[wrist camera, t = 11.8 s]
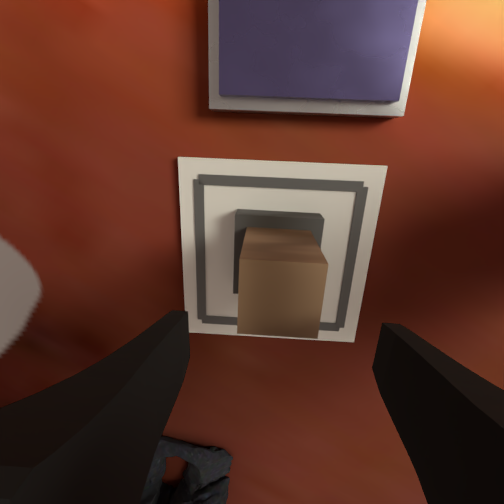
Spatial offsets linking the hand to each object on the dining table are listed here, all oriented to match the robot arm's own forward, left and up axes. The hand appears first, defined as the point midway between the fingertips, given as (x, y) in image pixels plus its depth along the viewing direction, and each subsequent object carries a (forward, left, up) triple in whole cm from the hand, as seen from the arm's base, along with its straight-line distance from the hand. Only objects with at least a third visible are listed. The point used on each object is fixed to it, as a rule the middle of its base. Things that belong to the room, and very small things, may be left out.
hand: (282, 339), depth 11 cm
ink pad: (-1, -13, -9) cm, 16 cm away
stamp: (0, -1, -8) cm, 8 cm away
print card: (0, 0, -9) cm, 9 cm away
